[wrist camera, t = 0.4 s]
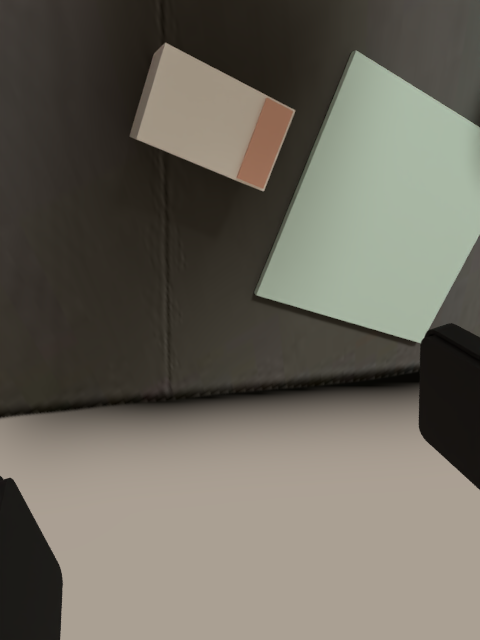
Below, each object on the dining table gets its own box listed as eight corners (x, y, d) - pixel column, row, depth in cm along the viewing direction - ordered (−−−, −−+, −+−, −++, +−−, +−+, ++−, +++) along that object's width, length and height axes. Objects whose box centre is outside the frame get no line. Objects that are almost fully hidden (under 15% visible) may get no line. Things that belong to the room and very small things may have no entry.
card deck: (153, 54, 30) (166, 42, 25) (267, 111, 33) (296, 110, 29) (128, 136, 31) (136, 139, 27) (241, 182, 35) (264, 192, 30)
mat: (351, 51, 33) (356, 50, 33) (517, 153, 42) (522, 154, 41) (254, 292, 39) (256, 295, 38) (417, 340, 47) (420, 343, 47)
